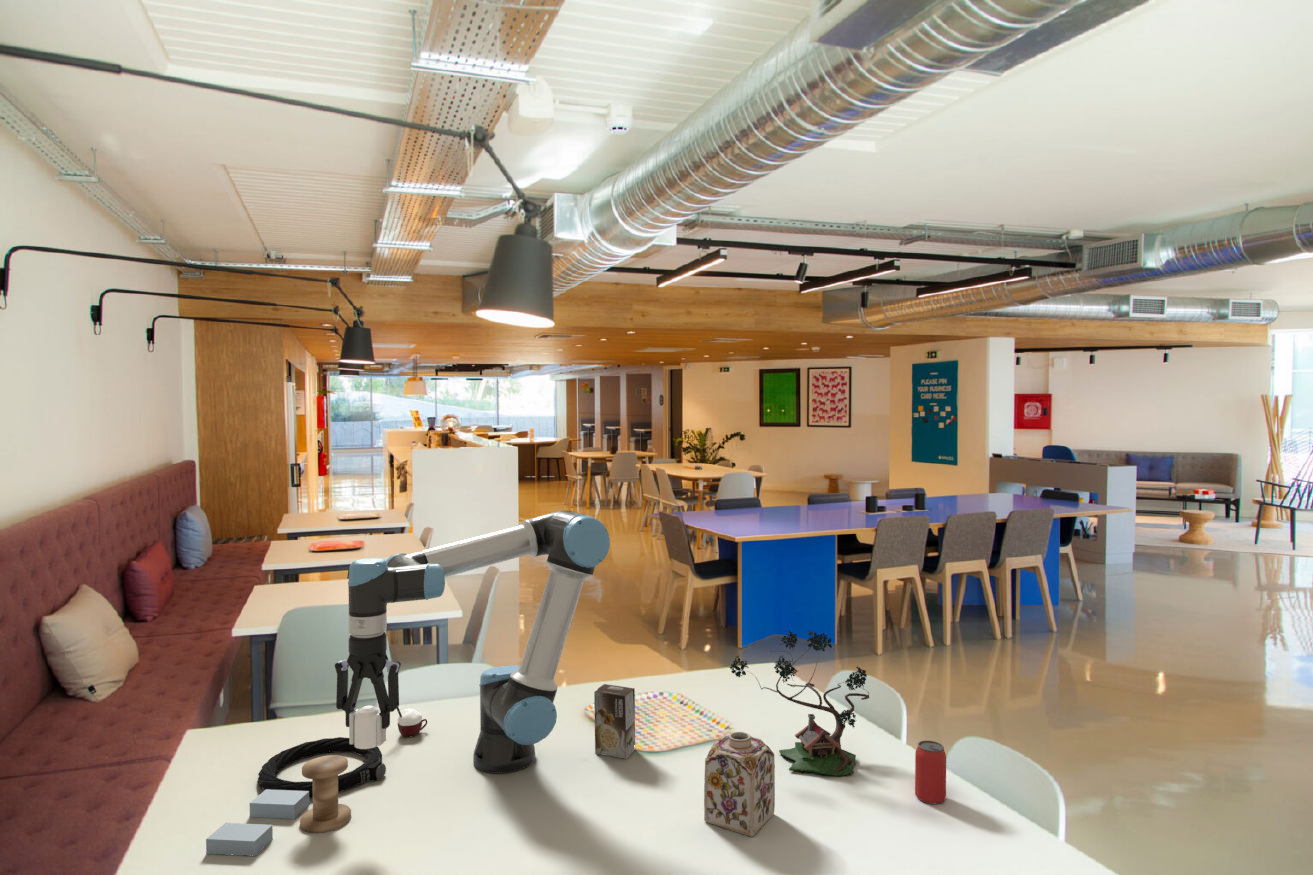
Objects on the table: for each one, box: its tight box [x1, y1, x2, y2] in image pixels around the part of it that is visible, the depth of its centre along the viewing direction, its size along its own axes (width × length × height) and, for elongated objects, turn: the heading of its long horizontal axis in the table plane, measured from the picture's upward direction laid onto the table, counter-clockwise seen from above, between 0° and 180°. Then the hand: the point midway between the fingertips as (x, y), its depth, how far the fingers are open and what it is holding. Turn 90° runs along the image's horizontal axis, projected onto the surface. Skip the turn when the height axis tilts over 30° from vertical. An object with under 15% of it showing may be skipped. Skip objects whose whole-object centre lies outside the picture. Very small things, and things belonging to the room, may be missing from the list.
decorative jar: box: [703, 731, 776, 838], centre depth 164 cm, size 12×12×18 cm
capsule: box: [354, 705, 380, 749], centre depth 162 cm, size 5×5×8 cm
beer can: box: [914, 740, 947, 805], centre depth 172 cm, size 7×7×12 cm
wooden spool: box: [299, 754, 352, 834], centre depth 163 cm, size 10×10×12 cm
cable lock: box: [257, 736, 387, 799], centre depth 185 cm, size 28×4×30 cm
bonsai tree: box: [729, 630, 870, 777], centre depth 193 cm, size 35×24×32 cm
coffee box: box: [593, 683, 636, 759], centre depth 196 cm, size 9×6×16 cm
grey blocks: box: [205, 789, 310, 857], centre depth 160 cm, size 10×20×3 cm, turn 175°
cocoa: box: [395, 707, 428, 738], centre depth 207 cm, size 10×6×12 cm, turn 97°
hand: (367, 741), depth 162 cm, fingers closed on capsule, 5 cm apart
